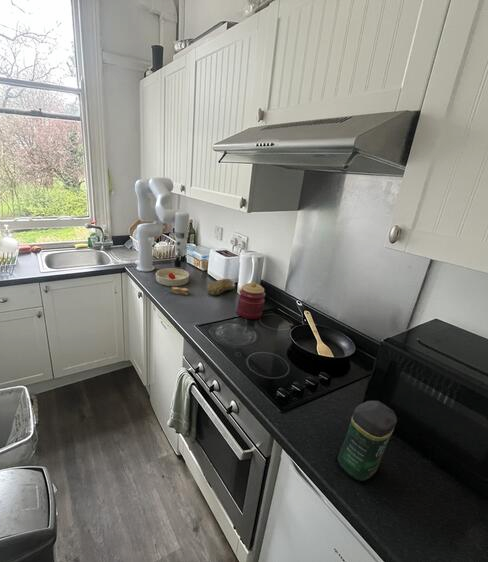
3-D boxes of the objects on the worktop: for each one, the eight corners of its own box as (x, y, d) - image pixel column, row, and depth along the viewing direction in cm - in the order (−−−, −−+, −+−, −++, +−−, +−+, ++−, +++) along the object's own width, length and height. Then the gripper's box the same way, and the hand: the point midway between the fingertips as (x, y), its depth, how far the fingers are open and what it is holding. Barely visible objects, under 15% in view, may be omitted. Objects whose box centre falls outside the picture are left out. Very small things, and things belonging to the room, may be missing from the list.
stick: (188, 293, 173) (189, 288, 172) (187, 295, 170) (188, 290, 169) (172, 291, 174) (172, 286, 173) (171, 292, 171) (171, 288, 170)
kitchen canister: (254, 307, 161) (259, 276, 154) (266, 318, 149) (272, 286, 143) (232, 309, 157) (236, 277, 150) (243, 320, 145) (248, 287, 139)
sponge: (224, 287, 188) (199, 286, 176) (229, 276, 185) (203, 274, 173) (236, 298, 179) (210, 298, 167) (241, 287, 176) (215, 286, 164)
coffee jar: (360, 488, 71) (382, 430, 64) (331, 461, 77) (349, 405, 70) (382, 469, 76) (405, 414, 69) (353, 445, 82) (372, 392, 75)
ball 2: (176, 279, 189) (171, 281, 189) (175, 276, 192) (170, 278, 192) (174, 276, 187) (169, 277, 187) (174, 273, 189) (169, 274, 190)
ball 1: (168, 273, 194) (173, 272, 194) (170, 278, 194) (174, 276, 193) (167, 273, 191) (171, 272, 190) (168, 278, 191) (173, 276, 190)
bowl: (148, 281, 186) (148, 274, 185) (168, 272, 204) (168, 266, 202) (176, 289, 177) (177, 282, 175) (195, 279, 194) (195, 272, 193)
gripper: (184, 239, 154) (182, 270, 161) (191, 232, 170) (189, 260, 177) (170, 237, 155) (169, 268, 162) (178, 230, 171) (177, 259, 178)
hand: (179, 264), depth 169 cm, fingers open, 9 cm apart
